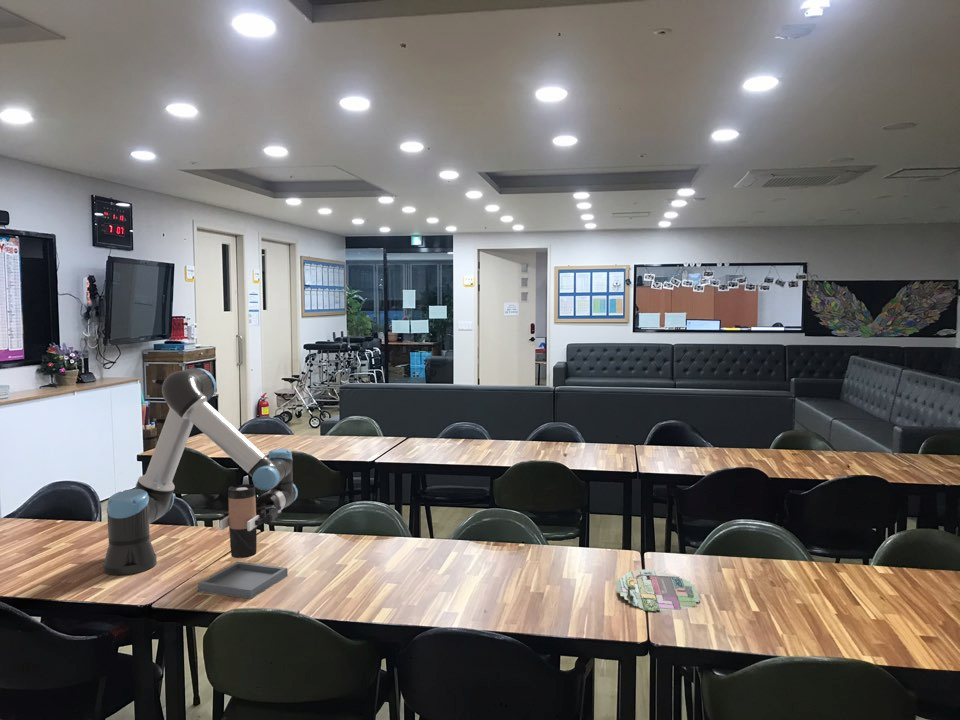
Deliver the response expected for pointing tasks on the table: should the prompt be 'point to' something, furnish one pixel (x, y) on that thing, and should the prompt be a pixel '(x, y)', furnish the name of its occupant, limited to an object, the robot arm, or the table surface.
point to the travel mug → (242, 521)
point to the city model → (657, 590)
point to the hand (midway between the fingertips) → (234, 525)
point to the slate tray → (243, 580)
